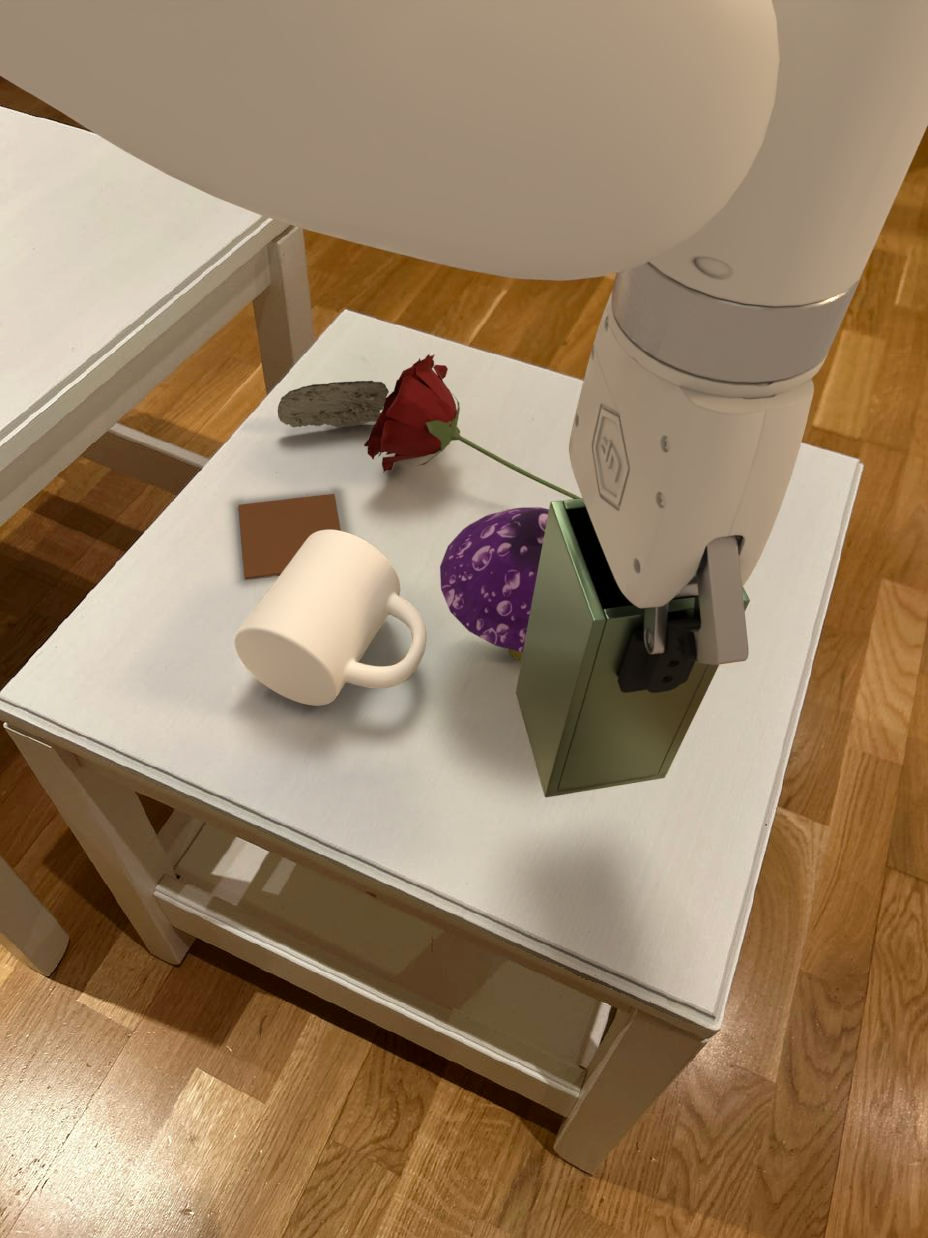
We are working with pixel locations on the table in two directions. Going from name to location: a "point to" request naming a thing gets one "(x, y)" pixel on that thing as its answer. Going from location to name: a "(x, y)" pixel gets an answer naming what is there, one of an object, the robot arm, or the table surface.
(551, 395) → the table surface
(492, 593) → the decorative mushroom
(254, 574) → the coaster
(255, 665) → the mug
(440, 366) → the flower
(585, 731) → the box
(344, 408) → the stone fragment
